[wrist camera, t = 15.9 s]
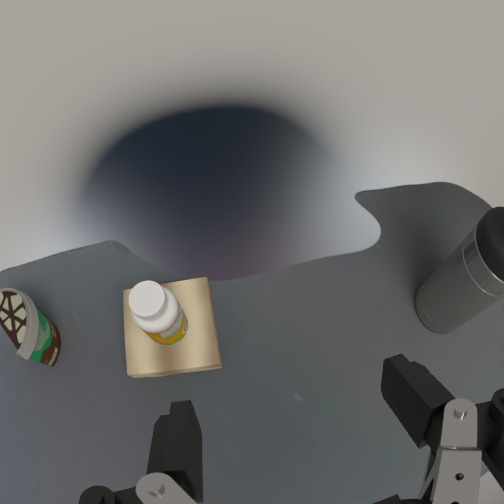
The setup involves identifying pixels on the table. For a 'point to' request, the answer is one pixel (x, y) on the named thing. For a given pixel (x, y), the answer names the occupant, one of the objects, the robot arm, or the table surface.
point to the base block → (186, 351)
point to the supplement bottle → (158, 313)
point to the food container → (28, 327)
